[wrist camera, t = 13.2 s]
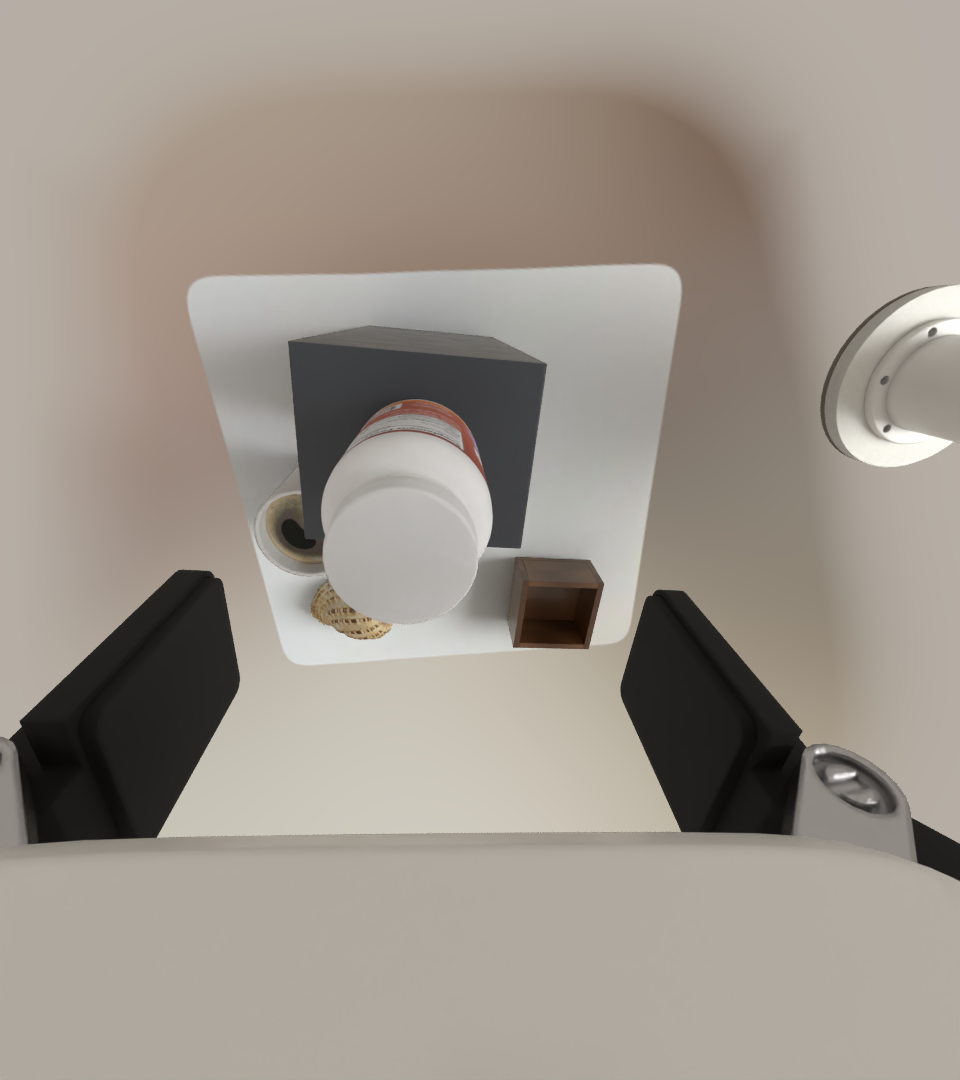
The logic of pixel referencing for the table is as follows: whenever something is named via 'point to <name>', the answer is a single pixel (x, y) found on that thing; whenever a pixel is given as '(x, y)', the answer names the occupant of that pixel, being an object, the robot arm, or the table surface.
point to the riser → (428, 374)
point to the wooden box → (553, 603)
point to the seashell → (345, 616)
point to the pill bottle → (406, 514)
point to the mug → (288, 531)
